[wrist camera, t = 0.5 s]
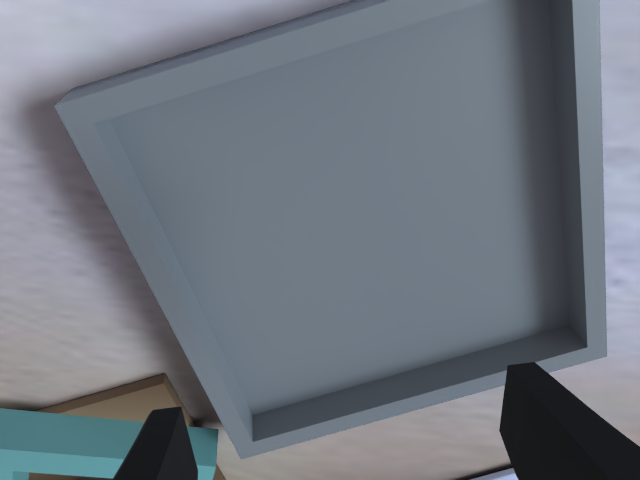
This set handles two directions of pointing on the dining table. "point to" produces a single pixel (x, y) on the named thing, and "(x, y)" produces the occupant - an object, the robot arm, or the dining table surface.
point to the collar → (81, 445)
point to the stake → (122, 411)
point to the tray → (363, 205)
